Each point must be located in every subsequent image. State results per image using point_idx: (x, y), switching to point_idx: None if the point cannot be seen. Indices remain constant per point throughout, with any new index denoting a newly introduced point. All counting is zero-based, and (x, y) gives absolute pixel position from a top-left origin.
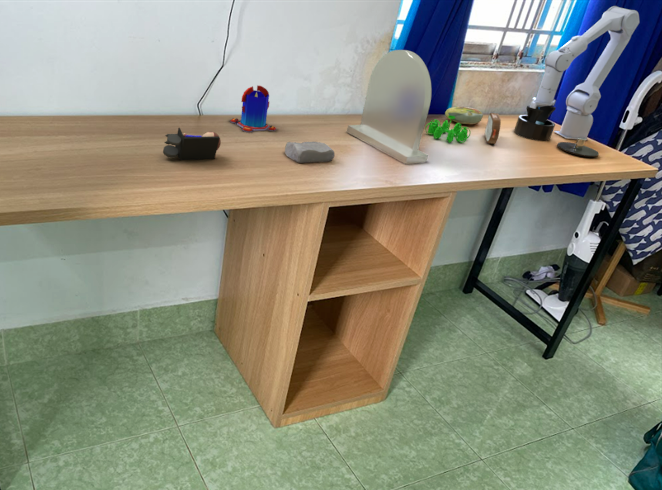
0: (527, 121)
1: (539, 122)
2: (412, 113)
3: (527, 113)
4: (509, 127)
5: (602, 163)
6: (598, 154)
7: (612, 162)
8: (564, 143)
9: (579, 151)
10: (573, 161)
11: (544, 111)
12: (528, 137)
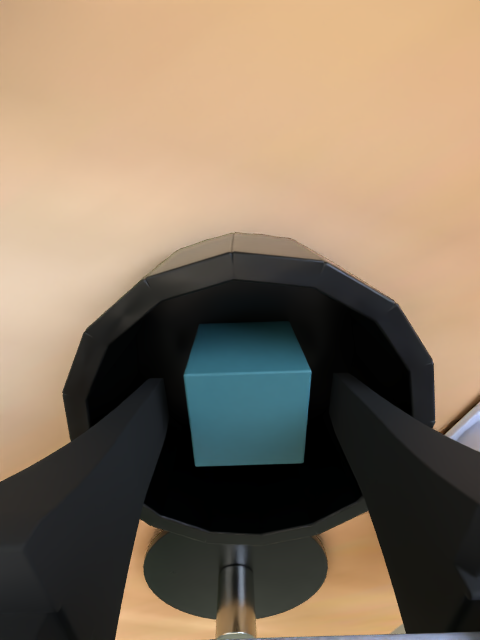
0: (74, 431)
1: (271, 440)
2: None
3: (41, 462)
4: (243, 158)
5: (205, 624)
6: (262, 616)
7: (264, 629)
8: None
9: (199, 589)
10: None
11: (400, 516)
12: None
